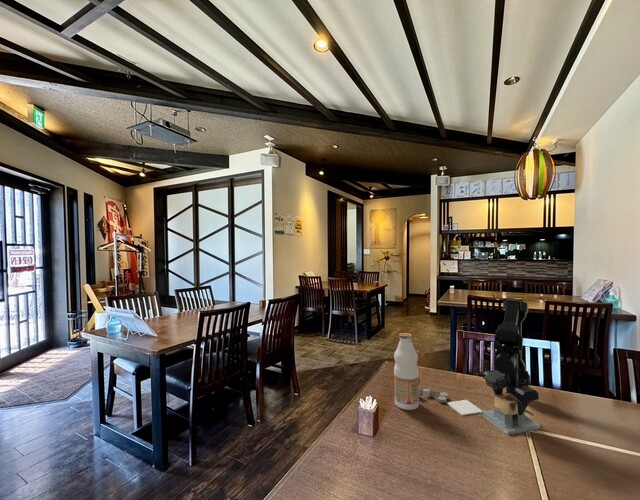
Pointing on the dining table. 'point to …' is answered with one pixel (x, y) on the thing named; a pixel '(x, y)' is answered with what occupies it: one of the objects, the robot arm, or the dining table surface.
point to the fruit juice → (406, 374)
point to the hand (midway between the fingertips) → (509, 408)
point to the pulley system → (427, 393)
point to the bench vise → (510, 421)
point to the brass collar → (506, 403)
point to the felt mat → (464, 407)
